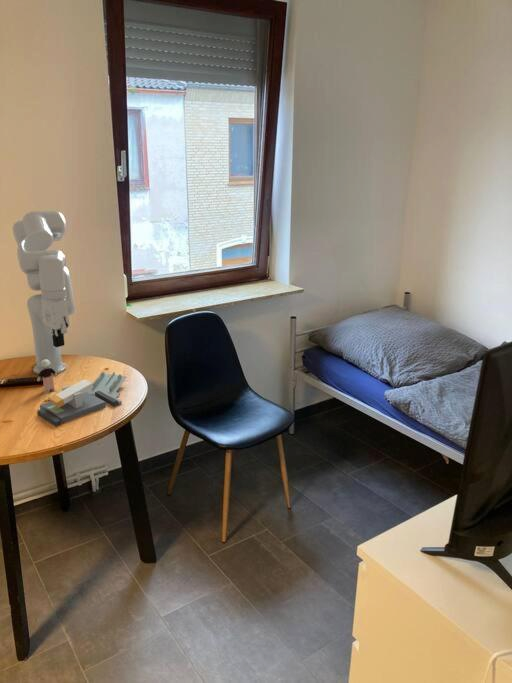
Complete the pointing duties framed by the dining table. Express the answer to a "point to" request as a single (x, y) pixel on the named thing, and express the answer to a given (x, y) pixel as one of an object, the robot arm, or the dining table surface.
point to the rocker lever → (70, 393)
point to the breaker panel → (75, 406)
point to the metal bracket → (108, 384)
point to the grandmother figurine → (47, 376)
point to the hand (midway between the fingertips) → (59, 345)
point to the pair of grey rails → (98, 394)
